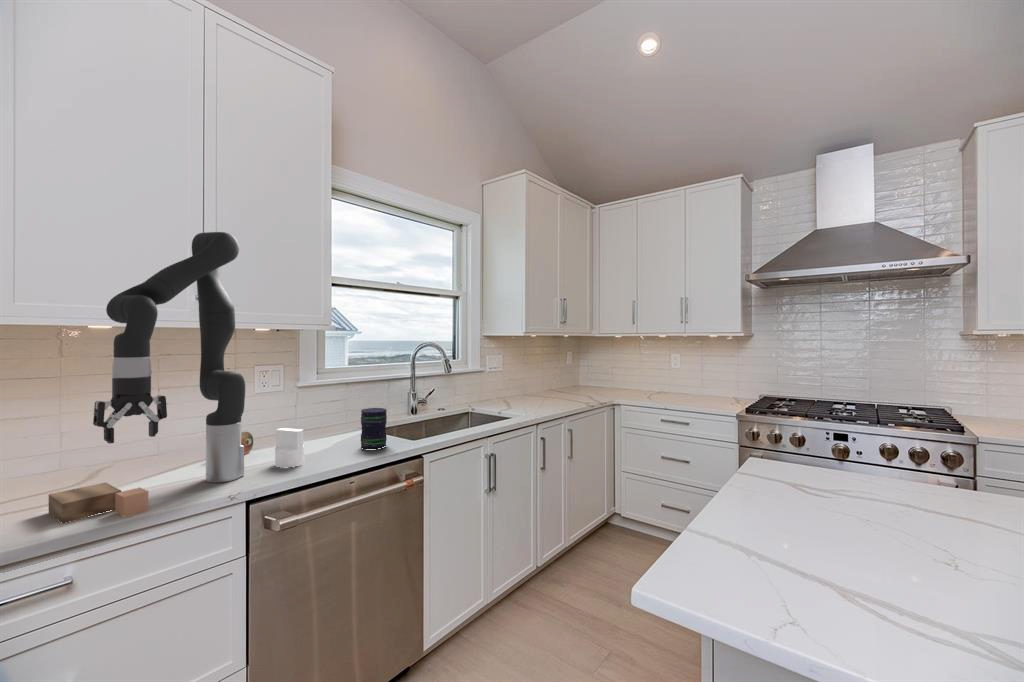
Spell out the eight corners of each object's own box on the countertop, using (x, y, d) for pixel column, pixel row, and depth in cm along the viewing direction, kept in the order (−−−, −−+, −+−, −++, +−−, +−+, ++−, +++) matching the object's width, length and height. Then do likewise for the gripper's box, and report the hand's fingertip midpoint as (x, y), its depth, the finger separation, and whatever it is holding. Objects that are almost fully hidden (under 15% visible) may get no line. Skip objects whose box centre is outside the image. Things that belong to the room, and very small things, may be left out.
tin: (221, 462, 158) (221, 438, 158) (213, 462, 158) (213, 438, 158) (254, 451, 172) (254, 429, 172) (246, 451, 173) (247, 429, 173)
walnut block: (105, 500, 122) (105, 482, 122) (121, 510, 116) (121, 490, 116) (48, 514, 113) (48, 494, 113) (62, 525, 107) (62, 503, 107)
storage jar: (379, 443, 188) (379, 407, 188) (391, 447, 181) (391, 410, 181) (356, 447, 182) (356, 409, 181) (367, 452, 174) (367, 413, 174)
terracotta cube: (139, 506, 118) (139, 487, 118) (148, 510, 116) (148, 491, 116) (115, 513, 114) (115, 493, 114) (124, 517, 111) (123, 497, 111)
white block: (268, 467, 154) (268, 431, 153) (287, 459, 162) (288, 426, 162) (291, 469, 152) (291, 433, 151) (309, 461, 160) (309, 427, 160)
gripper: (158, 372, 122) (158, 432, 123) (89, 376, 110) (88, 443, 110) (171, 374, 118) (171, 436, 119) (101, 378, 106) (101, 447, 106)
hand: (131, 439), depth 115 cm, fingers open, 8 cm apart
